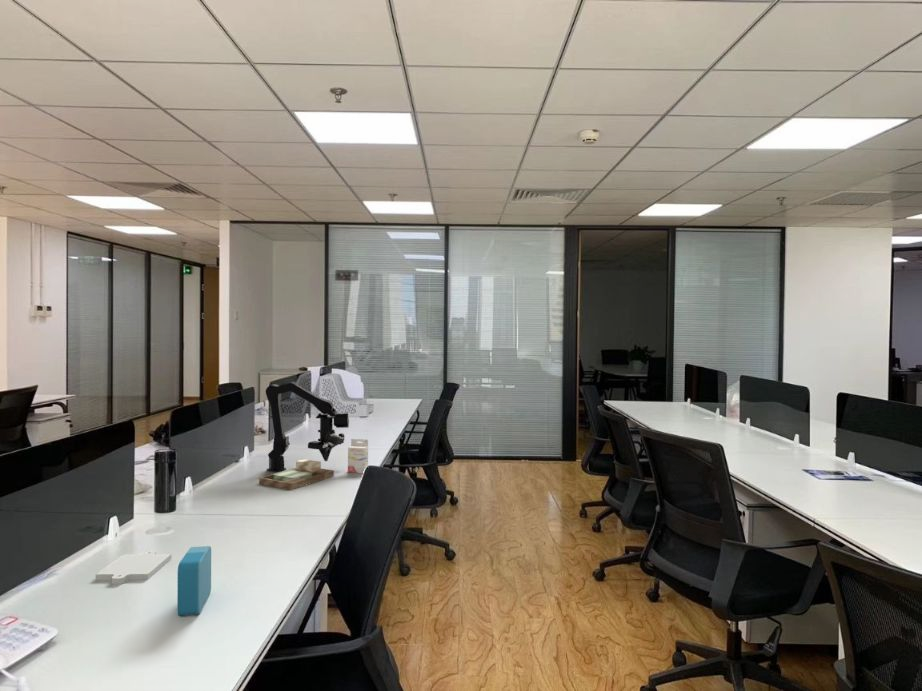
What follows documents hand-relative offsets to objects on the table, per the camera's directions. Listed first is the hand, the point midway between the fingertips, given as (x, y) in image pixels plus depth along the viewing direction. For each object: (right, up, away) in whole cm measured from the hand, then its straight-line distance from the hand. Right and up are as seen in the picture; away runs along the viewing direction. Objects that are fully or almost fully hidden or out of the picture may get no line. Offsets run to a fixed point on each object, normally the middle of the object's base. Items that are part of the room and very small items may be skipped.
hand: (325, 461), depth 262 cm
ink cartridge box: (+16, -5, -3) cm, 16 cm away
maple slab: (-5, -2, -10) cm, 12 cm away
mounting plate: (-24, -6, -113) cm, 115 cm away
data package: (+1, -7, -132) cm, 132 cm away
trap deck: (-8, -4, -19) cm, 21 cm away
